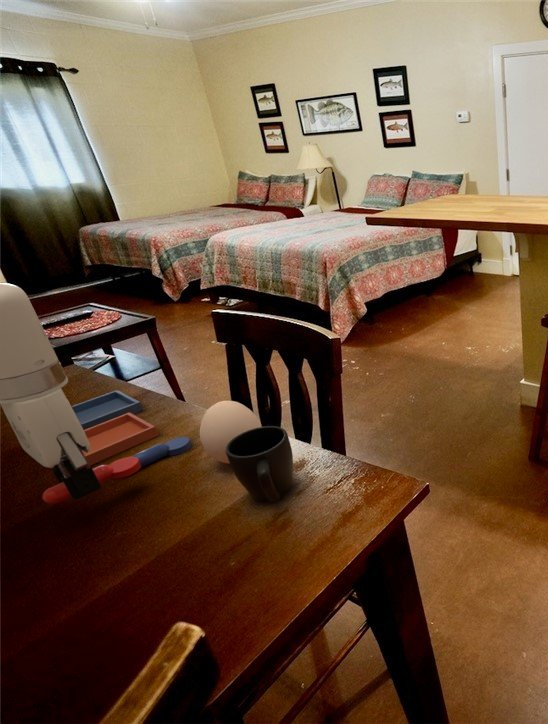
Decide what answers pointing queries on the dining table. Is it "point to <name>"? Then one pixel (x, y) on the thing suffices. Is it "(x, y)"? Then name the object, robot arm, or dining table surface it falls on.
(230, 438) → the egg
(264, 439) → the mug
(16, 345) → the robot arm
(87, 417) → the blue tray
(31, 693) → the dining table surface
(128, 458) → the red spoon
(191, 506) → the dining table surface
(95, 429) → the terracotta tray
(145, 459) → the blue spoon
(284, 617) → the dining table surface
